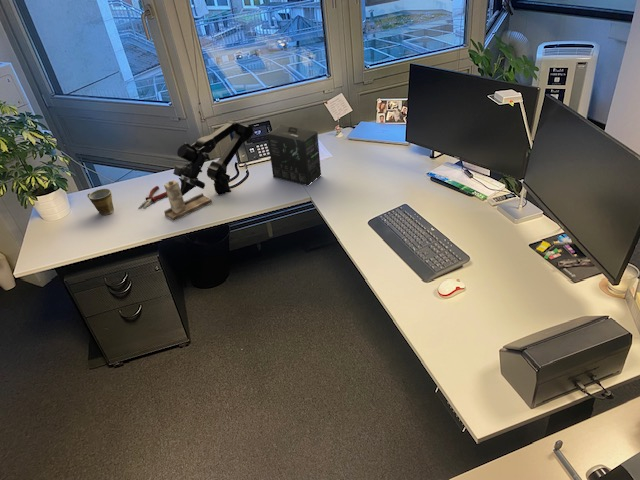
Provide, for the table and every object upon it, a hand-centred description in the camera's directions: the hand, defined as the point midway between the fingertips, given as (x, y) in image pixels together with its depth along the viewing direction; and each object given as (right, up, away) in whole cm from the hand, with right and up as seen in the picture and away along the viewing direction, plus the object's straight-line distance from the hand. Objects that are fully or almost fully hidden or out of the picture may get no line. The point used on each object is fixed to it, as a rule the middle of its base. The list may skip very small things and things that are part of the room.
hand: (181, 195), depth 212 cm
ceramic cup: (-40, -7, +12) cm, 43 cm away
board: (+2, -6, +6) cm, 8 cm away
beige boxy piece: (-2, -7, +2) cm, 7 cm away
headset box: (+52, +11, +22) cm, 58 cm away
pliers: (-19, 0, +19) cm, 27 cm away
